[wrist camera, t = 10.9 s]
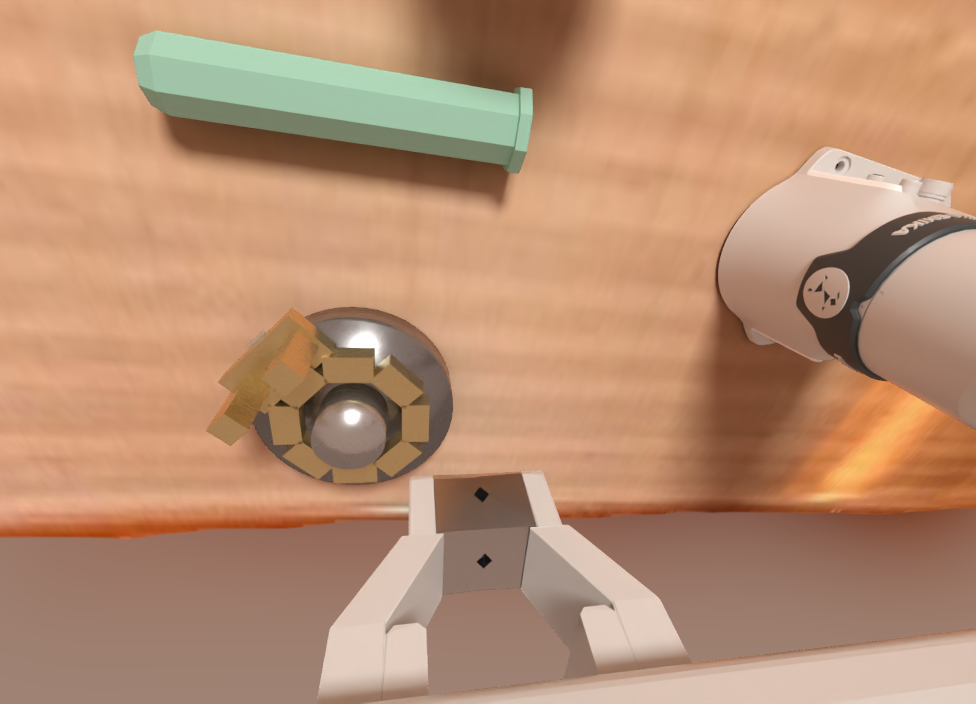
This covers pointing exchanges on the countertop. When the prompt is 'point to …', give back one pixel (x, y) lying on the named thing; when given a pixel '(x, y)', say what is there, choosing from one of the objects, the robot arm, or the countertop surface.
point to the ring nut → (298, 376)
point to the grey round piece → (368, 394)
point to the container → (332, 100)
